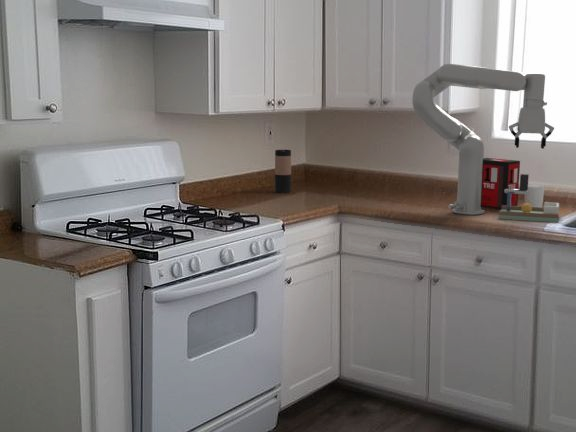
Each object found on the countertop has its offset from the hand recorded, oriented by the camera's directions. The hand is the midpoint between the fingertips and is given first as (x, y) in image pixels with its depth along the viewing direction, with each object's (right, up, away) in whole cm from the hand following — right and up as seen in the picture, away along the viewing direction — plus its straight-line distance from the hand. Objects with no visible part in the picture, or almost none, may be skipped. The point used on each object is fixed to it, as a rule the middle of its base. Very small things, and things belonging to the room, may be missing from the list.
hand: (529, 147), depth 316 cm
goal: (+7, -27, -5) cm, 28 cm away
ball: (-2, -24, -2) cm, 24 cm away
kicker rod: (-6, -25, 0) cm, 26 cm away
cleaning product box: (-8, -23, +24) cm, 34 cm away
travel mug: (-99, -16, +63) cm, 118 cm away
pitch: (-1, -28, -2) cm, 28 cm away
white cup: (+6, -25, +17) cm, 30 cm away
